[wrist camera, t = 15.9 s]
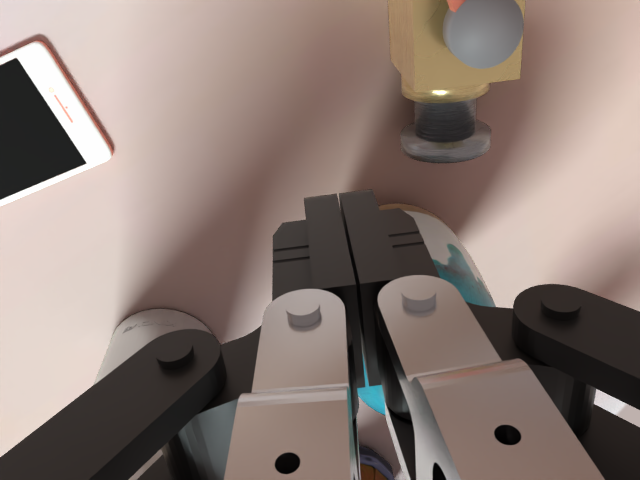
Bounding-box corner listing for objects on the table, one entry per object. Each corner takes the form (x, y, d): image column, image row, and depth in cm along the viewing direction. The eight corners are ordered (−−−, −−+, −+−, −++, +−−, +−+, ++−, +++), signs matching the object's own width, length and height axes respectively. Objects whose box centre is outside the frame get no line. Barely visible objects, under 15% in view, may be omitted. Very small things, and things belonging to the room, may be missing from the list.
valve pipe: (475, 125, 42) (521, 176, 34) (394, 136, 42) (421, 188, 34) (483, -173, 33) (548, -198, 25) (380, -160, 33) (413, -181, 25)
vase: (317, 295, 49) (338, 493, 32) (326, 180, 44) (356, 346, 27) (439, 297, 50) (520, 490, 33) (462, 185, 45) (572, 348, 28)
